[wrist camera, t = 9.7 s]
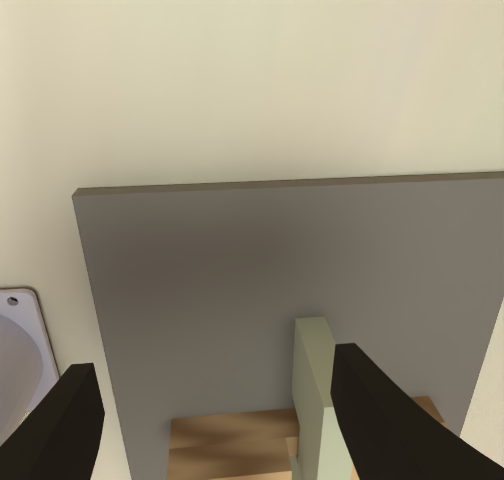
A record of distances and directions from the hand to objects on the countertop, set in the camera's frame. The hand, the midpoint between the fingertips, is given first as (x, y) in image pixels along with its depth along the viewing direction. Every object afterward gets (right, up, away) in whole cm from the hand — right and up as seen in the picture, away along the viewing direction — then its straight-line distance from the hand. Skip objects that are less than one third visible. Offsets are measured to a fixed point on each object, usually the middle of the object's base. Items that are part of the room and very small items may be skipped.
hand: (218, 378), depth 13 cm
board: (+4, -3, +13) cm, 14 cm away
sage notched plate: (+4, -6, +13) cm, 15 cm away
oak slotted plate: (+4, -7, +13) cm, 15 cm away
